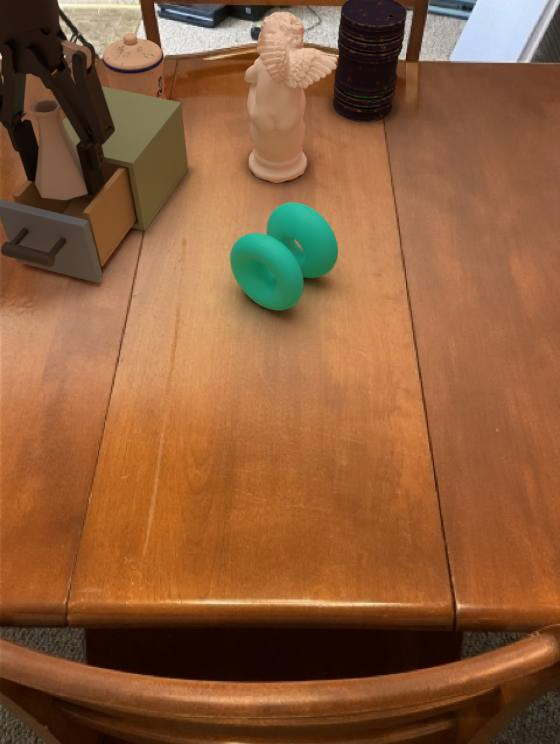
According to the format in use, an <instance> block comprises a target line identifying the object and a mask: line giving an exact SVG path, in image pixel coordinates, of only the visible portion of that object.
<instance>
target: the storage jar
mask: <svg viewBox="0 0 560 744" xmlns="http://www.w3.org/2000/svg"><path fill="white" fill-rule="evenodd" d="M407 16H408V10H407V8H406V7H405V6H404V5H403V4H402V3H400V2H399V1H397V0H346V1H345V2H344V3H343V4H342V5H341V7H340V18H339V25H338V33H337V35H338V38H337V48H338V58H337V66H336V69H335V71H334V72H335V73H334V80H333V99H332V107H333V110H334V111H335V113H337V114H338V115H339V116H341V117H343V118H344V119H347V120H350V121H354V122H360V123H371V122H376V121H381V120H383V119H385V118H387V117H388V116H389V115H390V114H391V113H392V111H393V102H394V97H395V95H396V90H397V85H398V84H397V83H398V73H397V69H398V62H399V58H400V57H399V56H400V55H401V53H402V50H403V43H404V39H405V35H406V21H407Z"/></svg>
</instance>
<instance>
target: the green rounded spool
mask: <svg viewBox="0 0 560 744" xmlns="http://www.w3.org/2000/svg"><path fill="white" fill-rule="evenodd" d="M298 244H299V245H298ZM338 256H339V245H338V240H337V237H336V235H335V232H334V229H333V228H332V227H331V225H330V224H329V222H328V221H327V219H326V218H325V217H324V216H322V215H321V214H320V212H318V211H317V210H316V209H314V208H312V207H310V206H309V205H306V204H304V203H299V202H294V201H293V202H285V203H283V204H280V205H278V206H277V207H276V208H274V209H273V211H272V212H271V213H270V215H269V217H268V219H267V223H266V233H262V232H261V233H260V232H250V233H246V234H244V235H241V236H240V237H239V238H238V239H236V241H235V242H234V243H233V244H232V247H231V250H230V255H229V257H230V258H229V262H230V269H231V272H232V275H233V276H234V279H235V281H236V283H237V284H238V286H239V287H240V288H241V290H242V291H243V292H244V293H245V295H247V296H248V297H249V298H250V299H251V300H252V301H253V302H254V303H256V304H258V305H259V306H261V307H263V308H266V309H269V310H272V311H285V310H288V309H291V308H293V307H294V306H295V305H297V304H298V302H299V301H300V300H301V298H302V295H303V292H304V286H305V285H304V284H305V283H304V278H306V279H317V278H321V277H324V276H325V275H327V274H329V273H330V272H331V271H332V270H333V268H334V267H335V265H336V263H337V261H338Z"/></svg>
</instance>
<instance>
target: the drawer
mask: <svg viewBox="0 0 560 744" xmlns="http://www.w3.org/2000/svg"><path fill="white" fill-rule="evenodd" d="M101 168H102V173H103V177H104V181H105V183H104V184H103V186H102V187H101V188H100V189H99V191H98V192H97V193H96V194H95V195H94V196H91V195H88V194H85V195H82V196H78V197H75V198H71V199H68V200H59V199H51V198H42V197H41V195H40V193H39V191H38V189H37V187H36V185H35V181H34V182H32V181H28V179H26V181H24V183H23V184H22V185H21V186H20V187H18V189H17V190H16V191H15V192H14V193H13V194H12V197H13V200H14V201H11V200H6V199H3V198H1V199H0V222H1V224H2V228H3V230H4V232H5V235H6V237H7V239H8V241H4V242H3V243H2V245H1V247H0V252H1V254H2V256H4V257H8V258H12V259H15V260H16V262H17V263H20V264H24V265H28V266H32V267H35V268H39V269H43V270H47V271H50V272H54V273H57V274H60V275H61V274H62V275H66V276H68V277H69V276H70V277H74V278H77V279H81V280H84V281H88V282H93V283H96V284H99V283H100V281H101V280H102V279H103V278H104V276H103V273H102V268H103V267H104V265H106V262H107V261H108V260H109V258H110V257H111V255H112V254H113V253H114V252H115V250H116V249H117V247H118V246H119V244H121V242H122V241H123V239H124V237H125V236H126V235H127V233H128V232H129V231H130V230H131V229H132V228H131V227H132V225H133V224H134V222H135V221H136V220H137V212H136V207H135V201H134V196H133V191H132V185H131V180H130V174H129V169H128V167H124V166H120V165H115V164H111V163H106V162H104V164H103V165H102V166H101ZM101 267H102V268H101Z"/></svg>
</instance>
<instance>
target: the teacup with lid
mask: <svg viewBox="0 0 560 744" xmlns="http://www.w3.org/2000/svg"><path fill="white" fill-rule="evenodd" d="M101 59H102V60H101V61H102V63H103V65H104V66H105V72H106V77H107V83H108V88H112V89H117V90H122V91H127V92H132V93H137V94H142V95H147V96H152V97H157V98H162V99H167V100H168V96H167V88H166V79H165V72H164V64H163V61H164V53H163V51H162V48H161V47H160V46H159V45H158V44H157V43H156V42H153V41H152V40H149V39H145V38H138V36H137V35H136V34H135V33H133V32H127V33H125V34H124V35H123V37H122V39H120V40H116V41H114V42H112V43H110V44H109V45H108V46H107V47H105V48H104V50H103V53H102V58H101Z"/></svg>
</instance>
